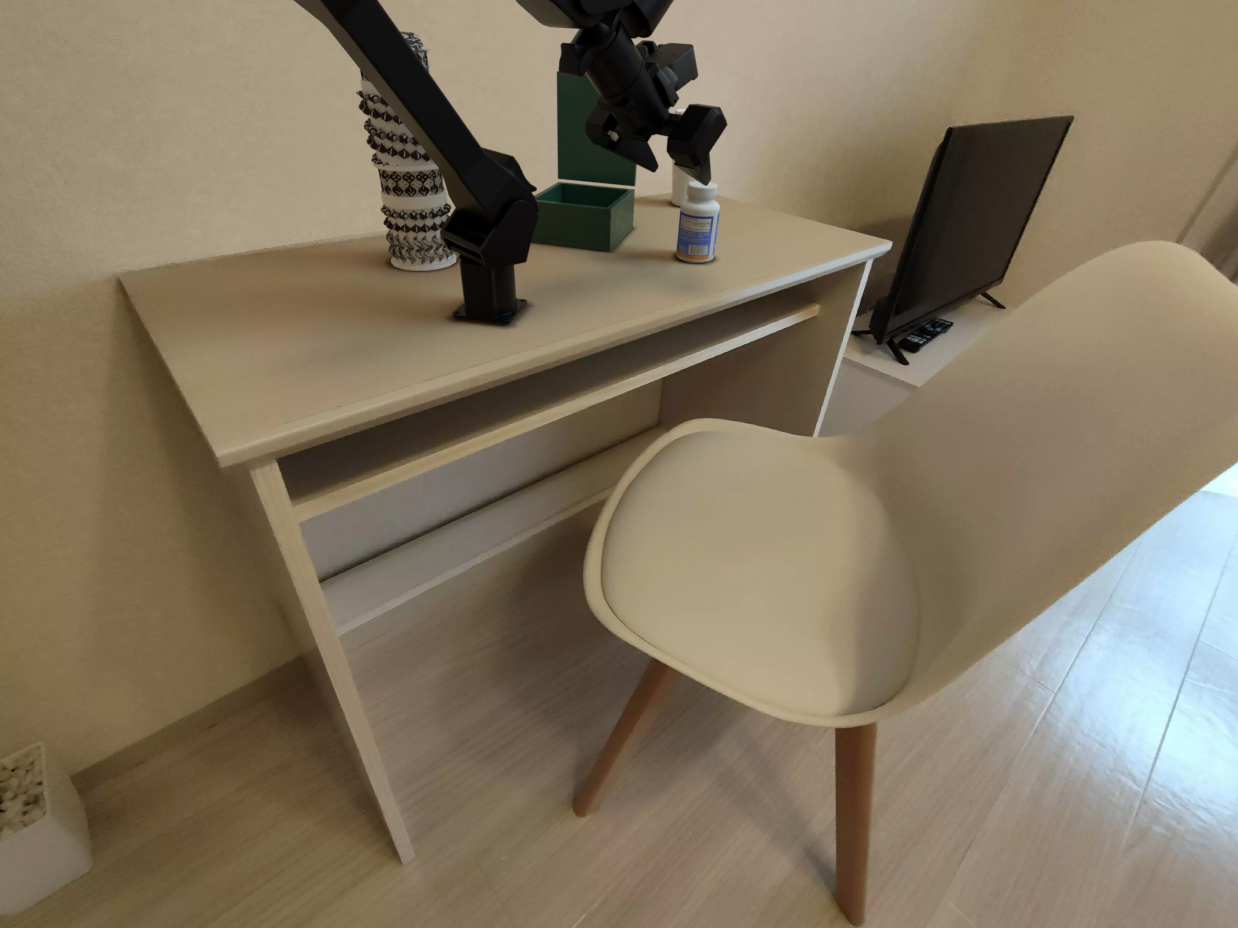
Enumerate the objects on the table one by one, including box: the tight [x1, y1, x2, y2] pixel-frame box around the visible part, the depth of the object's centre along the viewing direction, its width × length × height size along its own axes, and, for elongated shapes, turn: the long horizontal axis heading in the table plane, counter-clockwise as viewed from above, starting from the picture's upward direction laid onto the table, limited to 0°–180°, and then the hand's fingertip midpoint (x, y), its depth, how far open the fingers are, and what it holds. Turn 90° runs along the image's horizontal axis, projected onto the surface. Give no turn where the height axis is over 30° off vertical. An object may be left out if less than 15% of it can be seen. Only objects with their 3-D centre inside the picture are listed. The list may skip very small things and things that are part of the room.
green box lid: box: [556, 70, 638, 187], centre depth 93 cm, size 14×13×4 cm
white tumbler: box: [670, 108, 697, 207], centre depth 108 cm, size 7×7×15 cm
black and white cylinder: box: [355, 31, 458, 272], centre depth 74 cm, size 9×9×25 cm
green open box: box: [531, 181, 636, 252], centre depth 92 cm, size 14×13×6 cm
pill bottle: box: [675, 181, 721, 264], centre depth 84 cm, size 5×5×10 cm
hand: (681, 176), depth 78 cm, fingers open, 9 cm apart
